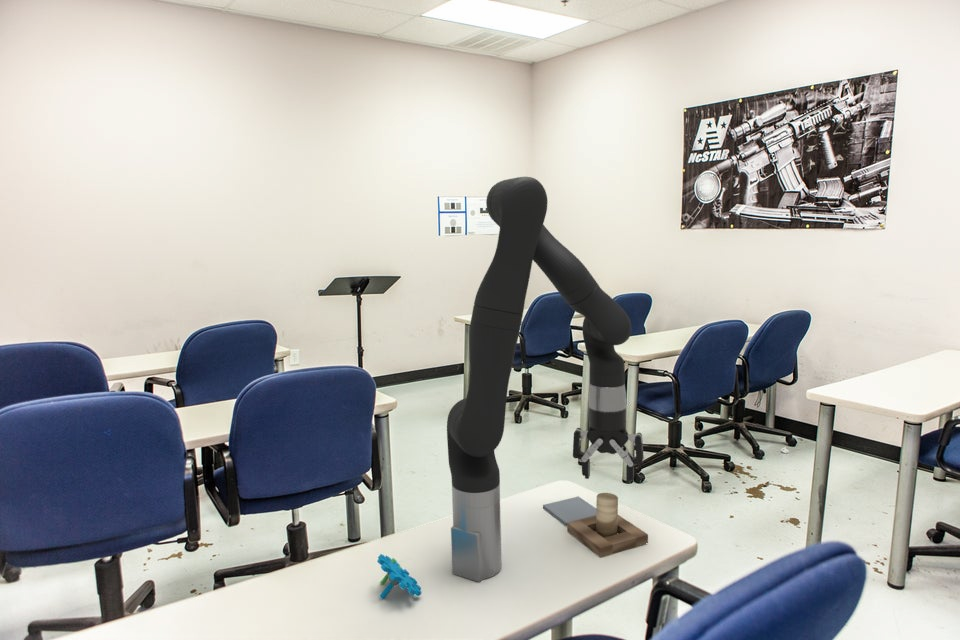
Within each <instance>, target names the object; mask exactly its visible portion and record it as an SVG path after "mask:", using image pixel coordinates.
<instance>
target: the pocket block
mask: <svg viewBox="0 0 960 640" xmlns="http://www.w3.org/2000/svg"><path fill="white" fill-rule="evenodd" d="M566 528H567V530H566V531H567V533H568V534H570V535H571V536H572V537H574V538H575V539H576V540H578V541H579V542H581V544H582V545H584V546H585V547H586V548H588V549H589V550H590V551H591V552H593V553H594V554H595V555H596V556H597V557H598V558H604V557H607V556H612V555H613V554H618V553H620V552H623V551H627V550H631V549H634V548H637V547H640V546H644V544H645V545H647V544H646V543H648V544H649V534H648V533H647V532H645V531H643V530H642V529H640V528H639V527H637V526H636V525H635V524H633V523H632V522H630V521H628V519H627V520H626V519H625V518H623V516H621V515H619V514H618V524H617V533H618V534H616V535H613V536H609V537H605V538H603V537H602V536H600V535H599V534H598V533H596V515H595V516H591V517H587V518H583V519H579V520H576V521H572V522H568V523H567V526H566Z"/></svg>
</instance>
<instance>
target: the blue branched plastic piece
mask: <svg viewBox="0 0 960 640" xmlns="http://www.w3.org/2000/svg"><path fill="white" fill-rule="evenodd" d="M377 563H378V564H379V565H381V566H380V568H381V570H382V571H384V572H385V573H386V574H385V576H384V577H383V578H382V579H381V580H380V582H379V584H381V585H382V584H383V585H384V584H386V582H387V581H388V580H389V583H388V584H387V585H386V587H385V588H384V589H383V591H381V593H380V594H379V598H380V599H381V600H383V599H384V600H385V598H387V596H388V594H390V592H392V590H393V588H394V587H397V586H399V587H400V588H401V589H402V590H403V591H405V589H407V592H408V593H409V594H410V595H411V596H416V597H419V596H420V595H421V594H422V587H421V586H420V585H418V581H417V580H416V579H415V578H414V577H412V576H410V572H409V571H408V570H407V569H406V568H402V567H401V565H400V563H399V562H398V561H397V559H396V558H394V557H392V558H391V557H390V556H388V555H387V554H386V555H384V554H382V553H380V554H379V556H378V557H377Z"/></svg>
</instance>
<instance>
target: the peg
mask: <svg viewBox="0 0 960 640" xmlns="http://www.w3.org/2000/svg"><path fill="white" fill-rule="evenodd" d="M618 505H619V497H618V496H617V495H616V494H614V493H611V492H600V493H598V494H597V495H596V507H595V508H596V533H598V534H599V535H600V536H602V537H603V538H605V537H609V536H613V535H616V534H617V524H618V515H619V514H618V513H619V512H618V511H619V510H618V508H619V506H618Z"/></svg>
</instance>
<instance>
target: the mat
mask: <svg viewBox="0 0 960 640" xmlns="http://www.w3.org/2000/svg"><path fill="white" fill-rule="evenodd" d="M542 509H544V511H546V512H547V513H549V514H550V515H551V516H552V517H553V518H555V519H556V520H557V521H559V522H560V523H562V524H563V525H564V526H565V527H567V523H568V522H572V521H576V520H579V519H583V518H587V517H591V516H595V515H596V507H595V506H594V505H592V504H590V503H589V502H588V501H586V500H585V499H583V498H582V497H580V496H579V495H578V496H574V497H571V498H566V499H563V500H558V501H554V502H549V503H545V504H542Z"/></svg>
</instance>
